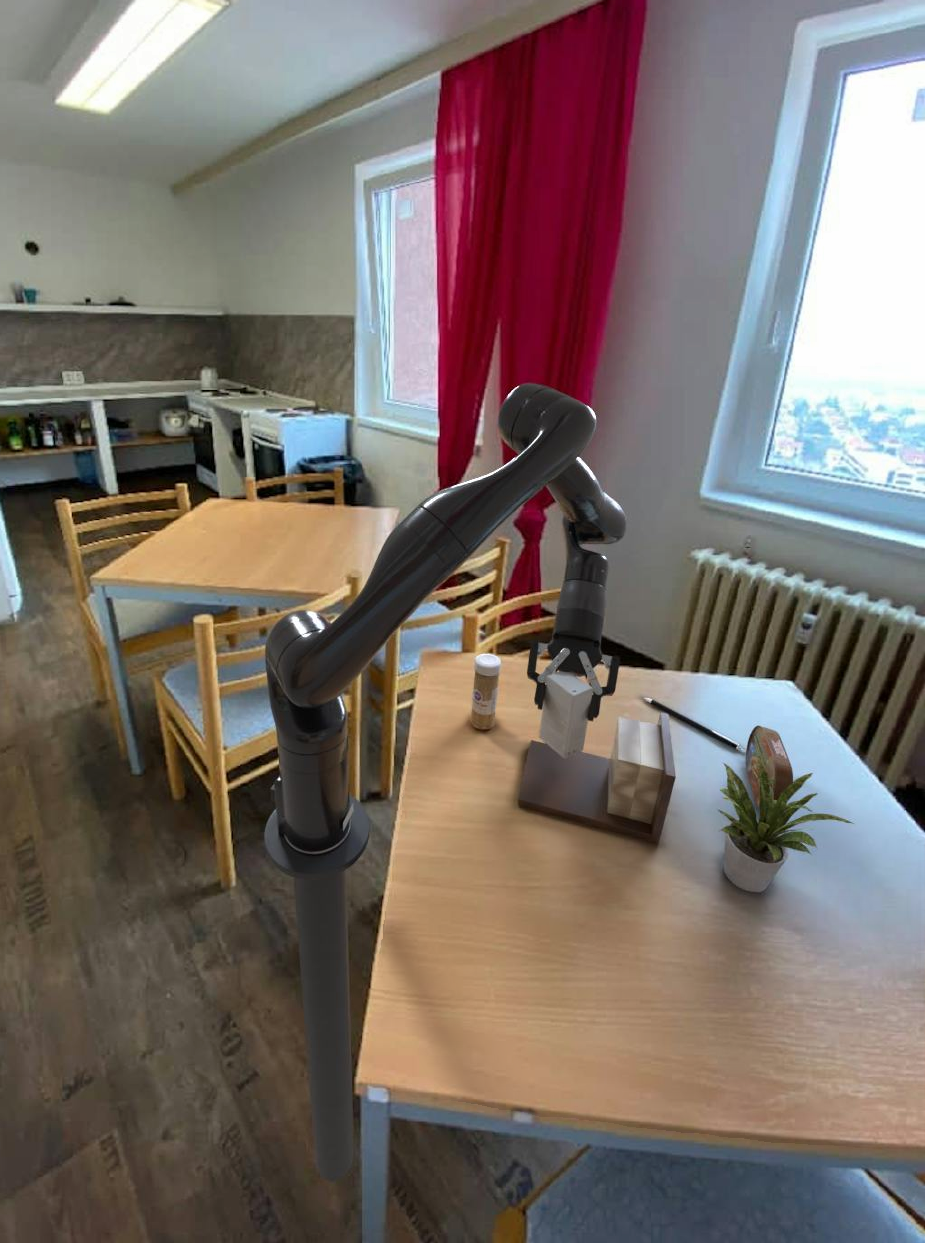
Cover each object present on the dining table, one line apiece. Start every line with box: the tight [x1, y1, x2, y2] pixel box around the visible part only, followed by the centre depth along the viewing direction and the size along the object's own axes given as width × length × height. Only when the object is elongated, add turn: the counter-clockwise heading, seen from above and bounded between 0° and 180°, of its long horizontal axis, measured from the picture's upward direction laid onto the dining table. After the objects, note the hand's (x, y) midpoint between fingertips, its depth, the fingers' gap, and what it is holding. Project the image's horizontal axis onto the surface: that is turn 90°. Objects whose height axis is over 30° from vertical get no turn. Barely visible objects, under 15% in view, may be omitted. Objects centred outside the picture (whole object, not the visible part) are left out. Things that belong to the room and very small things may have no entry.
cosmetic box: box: [538, 671, 593, 759], centre depth 91 cm, size 6×4×12 cm
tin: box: [744, 725, 794, 808], centre depth 91 cm, size 15×3×8 cm, turn 161°
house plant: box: [717, 751, 855, 893], centre depth 75 cm, size 14×14×16 cm
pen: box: [643, 696, 746, 754], centre depth 106 cm, size 1×19×1 cm, turn 39°
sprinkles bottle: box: [469, 653, 502, 731], centre depth 103 cm, size 5×5×14 cm
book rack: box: [517, 712, 677, 844], centre depth 89 cm, size 20×14×12 cm
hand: (565, 714), depth 90 cm, fingers closed on cosmetic box, 7 cm apart
